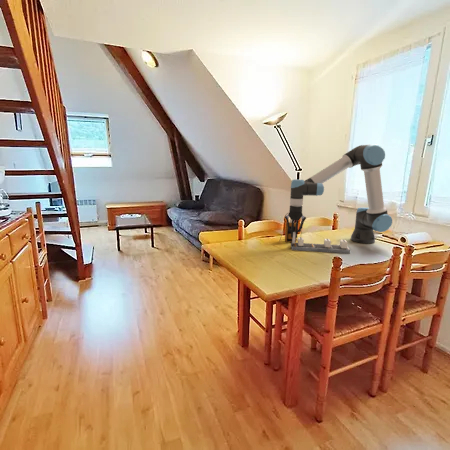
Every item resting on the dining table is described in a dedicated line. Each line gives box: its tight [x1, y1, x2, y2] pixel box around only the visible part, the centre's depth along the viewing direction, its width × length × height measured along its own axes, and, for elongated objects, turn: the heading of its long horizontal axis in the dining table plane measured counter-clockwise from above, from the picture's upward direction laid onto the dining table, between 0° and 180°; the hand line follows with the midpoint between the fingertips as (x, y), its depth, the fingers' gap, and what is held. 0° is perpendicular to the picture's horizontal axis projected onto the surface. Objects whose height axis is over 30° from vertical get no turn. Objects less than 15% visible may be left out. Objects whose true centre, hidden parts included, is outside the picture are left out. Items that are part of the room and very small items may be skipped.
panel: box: [290, 242, 351, 254], centre depth 180 cm, size 34×10×2 cm, turn 81°
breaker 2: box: [323, 238, 332, 248], centre depth 178 cm, size 3×5×4 cm, turn 171°
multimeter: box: [279, 212, 303, 243], centre depth 196 cm, size 15×10×20 cm
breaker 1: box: [297, 236, 305, 246], centre depth 181 cm, size 3×5×4 cm, turn 171°
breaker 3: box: [339, 239, 348, 249], centre depth 177 cm, size 3×5×4 cm, turn 171°
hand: (293, 242), depth 181 cm, fingers closed
